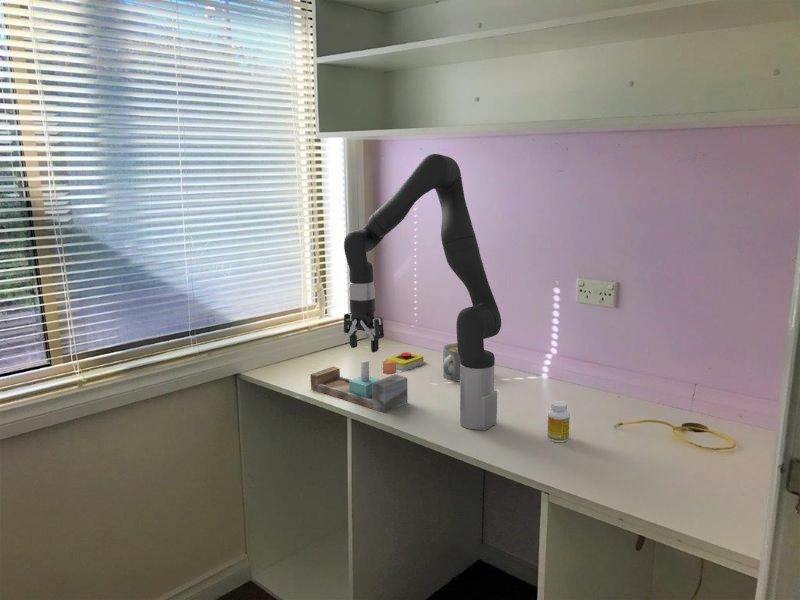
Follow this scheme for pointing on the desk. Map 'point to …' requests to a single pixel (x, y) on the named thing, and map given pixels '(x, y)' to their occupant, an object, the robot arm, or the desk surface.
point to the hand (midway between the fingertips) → (364, 349)
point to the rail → (383, 397)
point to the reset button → (389, 367)
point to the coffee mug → (451, 362)
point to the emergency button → (406, 361)
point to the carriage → (363, 382)
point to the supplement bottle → (558, 422)
